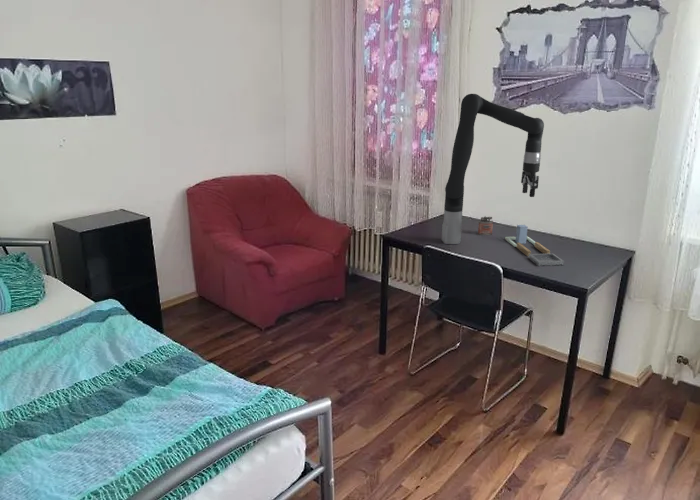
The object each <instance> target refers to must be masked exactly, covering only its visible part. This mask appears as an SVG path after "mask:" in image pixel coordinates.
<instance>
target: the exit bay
mask: <svg viewBox="0 0 700 500" xmlns="http://www.w3.org/2000/svg"><path fill="white" fill-rule="evenodd" d="M504 240H505V241H507V243H509V244H510V245H512V246H513V247H516V248H517V242H515V241H516V236H505V238H504ZM514 240H515V241H514ZM526 241H528V242H529V243H531V244H532V245H533V246H535V242H536V241H535V240H534V239H532V238H531V237H529V236H528V235H527V239H526Z"/></svg>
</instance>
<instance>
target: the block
mask: <svg viewBox="0 0 700 500" xmlns="http://www.w3.org/2000/svg"><path fill="white" fill-rule="evenodd" d="M528 229H529V228H528V226H527V225H526V224H517V225H516V231H515V232H516V234H515V237H516V240H515V243H516V244H517V243H521V244H522V245H524V244H527V236H528Z"/></svg>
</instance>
